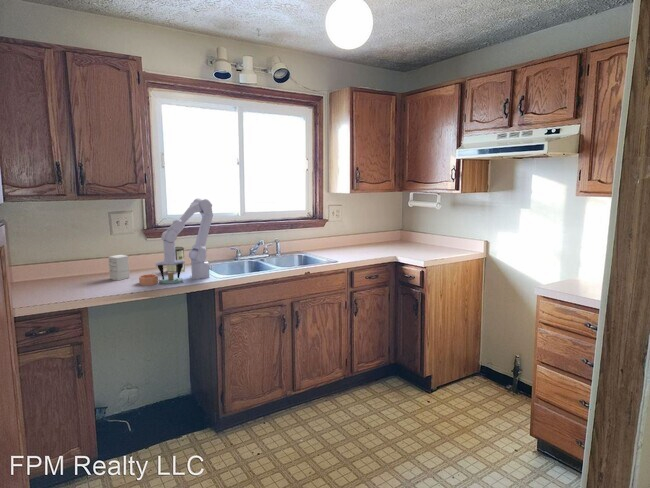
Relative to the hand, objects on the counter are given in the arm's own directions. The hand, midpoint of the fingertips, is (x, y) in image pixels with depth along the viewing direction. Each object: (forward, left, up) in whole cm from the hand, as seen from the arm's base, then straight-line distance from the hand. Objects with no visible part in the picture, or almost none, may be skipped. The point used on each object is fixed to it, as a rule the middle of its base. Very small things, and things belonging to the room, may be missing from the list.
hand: (170, 278), depth 227 cm
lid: (0, 0, -2) cm, 2 cm away
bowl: (+11, -1, -2) cm, 11 cm away
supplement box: (+25, -19, -2) cm, 31 cm away
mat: (0, 0, -2) cm, 2 cm away
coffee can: (-5, -26, -2) cm, 27 cm away
